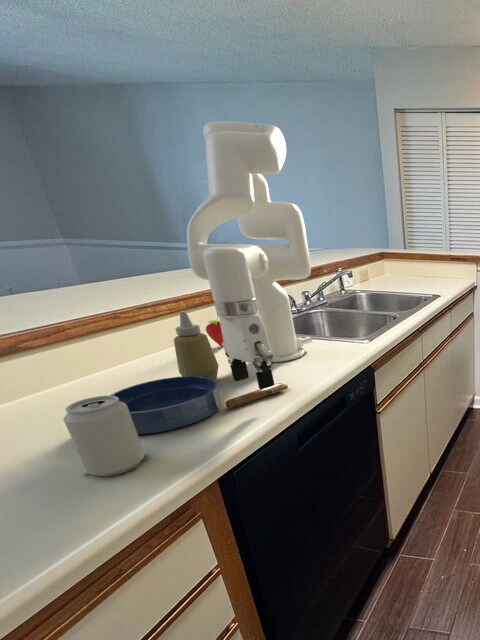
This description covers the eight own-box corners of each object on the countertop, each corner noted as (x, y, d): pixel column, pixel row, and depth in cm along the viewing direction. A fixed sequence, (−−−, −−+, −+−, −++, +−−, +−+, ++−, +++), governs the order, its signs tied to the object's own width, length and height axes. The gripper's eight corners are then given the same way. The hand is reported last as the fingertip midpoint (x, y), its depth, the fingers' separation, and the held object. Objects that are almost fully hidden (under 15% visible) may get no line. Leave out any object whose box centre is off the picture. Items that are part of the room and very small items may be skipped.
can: (143, 449, 76) (121, 389, 72) (149, 466, 71) (125, 402, 67) (86, 465, 71) (58, 401, 67) (88, 485, 66) (58, 417, 62)
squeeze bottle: (185, 391, 100) (162, 317, 94) (181, 381, 106) (159, 310, 99) (224, 383, 105) (206, 312, 99) (219, 374, 111) (201, 306, 104)
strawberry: (221, 342, 137) (213, 312, 133) (240, 344, 135) (233, 314, 131) (205, 347, 132) (196, 316, 128) (224, 350, 130) (216, 318, 126)
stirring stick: (280, 387, 103) (279, 380, 103) (288, 390, 102) (287, 383, 101) (223, 408, 92) (220, 399, 92) (231, 411, 91) (228, 403, 90)
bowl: (195, 389, 101) (189, 370, 100) (241, 407, 93) (235, 387, 91) (91, 421, 86) (82, 398, 84) (135, 446, 77) (125, 422, 75)
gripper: (278, 309, 88) (293, 385, 94) (232, 301, 96) (248, 372, 102) (242, 315, 82) (260, 396, 88) (196, 306, 90) (215, 381, 96)
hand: (254, 383), depth 95 cm, fingers open, 9 cm apart
